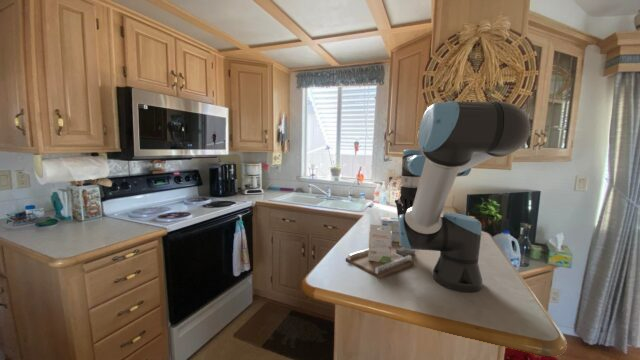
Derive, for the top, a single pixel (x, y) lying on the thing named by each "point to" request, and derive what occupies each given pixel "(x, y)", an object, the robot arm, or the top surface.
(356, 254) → the steel rails
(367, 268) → the rail board
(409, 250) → the latch housing
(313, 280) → the top surface
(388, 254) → the ink box
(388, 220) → the light bulb box
